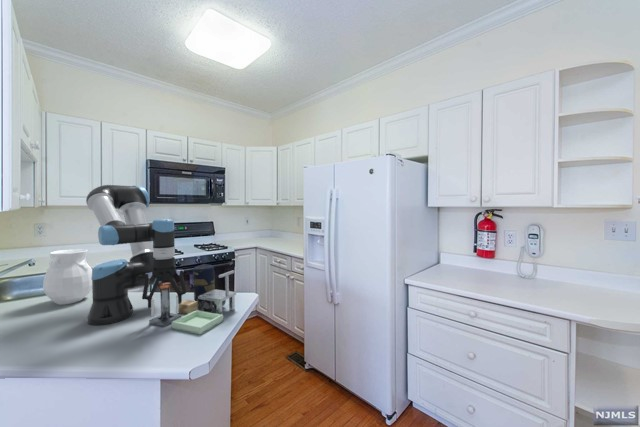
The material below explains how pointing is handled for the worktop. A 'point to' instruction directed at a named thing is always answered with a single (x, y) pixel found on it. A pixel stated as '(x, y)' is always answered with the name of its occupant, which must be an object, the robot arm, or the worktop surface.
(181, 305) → the block
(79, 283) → the white vase
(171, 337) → the worktop surface
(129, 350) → the worktop surface
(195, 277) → the canister
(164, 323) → the collar
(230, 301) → the trolley
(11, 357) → the worktop surface
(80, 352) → the worktop surface
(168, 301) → the pin
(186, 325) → the tray
